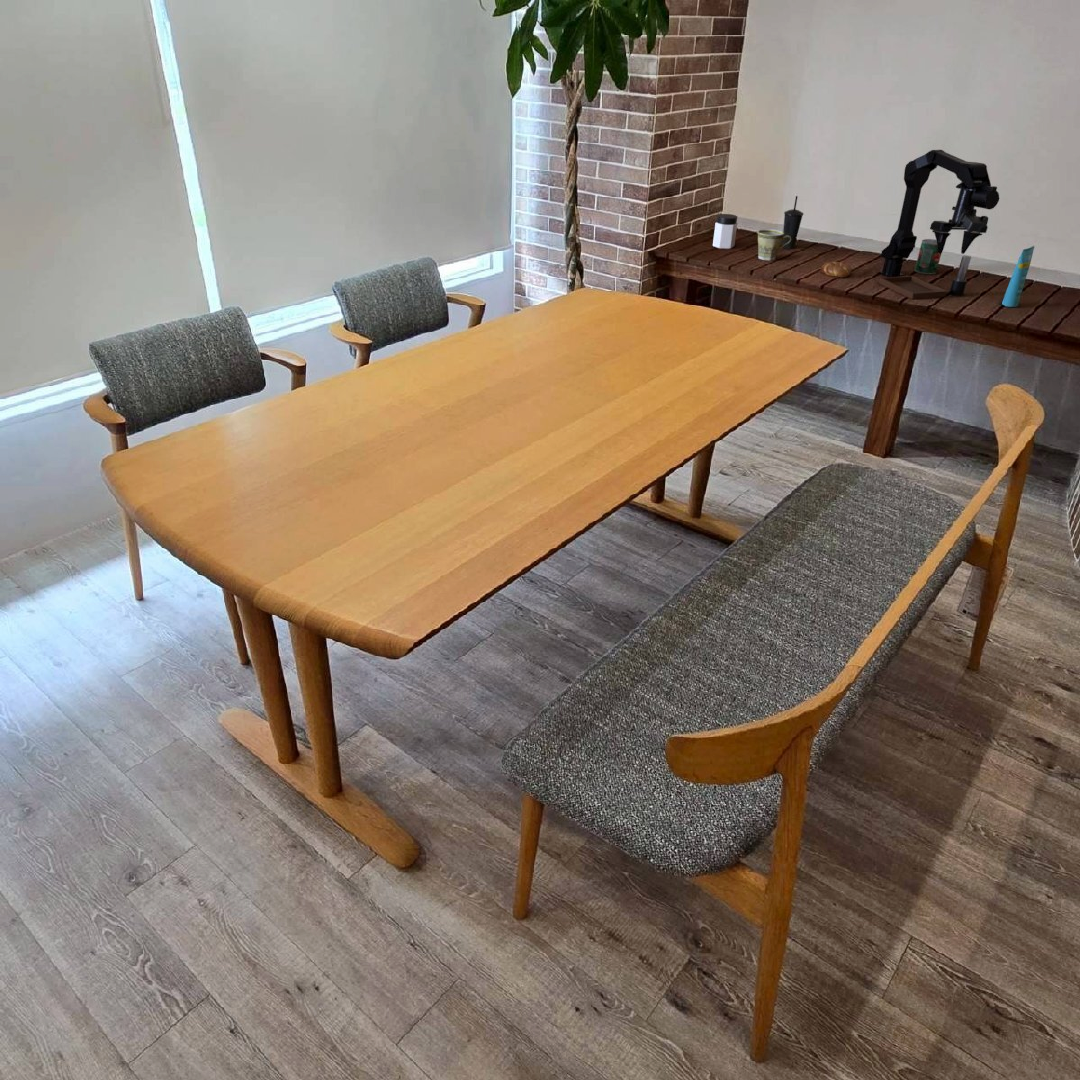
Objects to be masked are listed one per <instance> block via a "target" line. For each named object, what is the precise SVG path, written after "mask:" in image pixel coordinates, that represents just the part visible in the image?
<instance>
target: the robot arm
mask: <svg viewBox="0 0 1080 1080" xmlns="http://www.w3.org/2000/svg"><path fill="white" fill-rule="evenodd" d="M938 167H940V168H943V169H944V170H946V171H949V172H951V173H953V174H954V175H955V176H956V178H957V179H958V181H960V183H958V184H957V185H955V188H956V189H960V190H959V193H958V196H957V200H956V204H955V206H952V208H951V210H952V211H953V214H952V218H951V219H948V221H945V220H933V221H932V222H931V224H930V227H929V230H931V231H932V233H933V234H934V237H935V240H937V246H938V252H939V253H940V254H941V255H942V254H943V251H944V249H945V245H946V242H947V239H948V237H950V236H951V234H952V233H950V232H951V231H957V230H958V231H963V235H962V242H961V248H960V250H961V251H960V253H961V254H962V255H964V254H965V253H966V252H967V251H968V249H969V247H970V246H971V244H972V243H973V241H974V240H975V239H976V238H978V237H981V236H983V234H987V231H988V223H989V217H988V216H987V215H981V216H977V209H976V208H978V209H979V208H980V209H983V210H984V209H985V210H993V209H995V208H996V207H997V205H998V203H999V202H1000V193H999V192H998V191H997V190H998V186H995V185H994V186H993V185H992V184H991V179H990V176H989V173H988V166H987V165H986V163H983V162H977V161H966V160H964V159H962V158H959V157H957V156H955V155H953V154H950V153H948V152H946V151H945V150H943V149H931V150H929V151H928V152H926V153H925V154H923V155H921V156H918V157H916V158H915V159H913V160H910V161H909V162H907V163H906V165H905V167H904V171H903V173H904V174H903V181H904V184H905V187H906V188H905V193H904V198H903V201H902V208H901V211H900V216H899V222H898V225H897V229H896V231H895V232H894V233H893V235H892V236H891V238H890V240H889V244H888V245H887V246H886V247H885V248H883V249H882V250H881V252H880V253H881V256H880V257H881V258H882V259H884V262H883V266H882V270H878V273H879V274H881V275H883V276H884V277H899V276H904V274H903V273H901V272H902V267H903V263H904V259H908V258H909V257H910V255H911V253H913V251H914V249H915V248H916V242H917V240H918V236H917V235H914V232H913V231H914V230H913V228H914V224H915V219H916V216H917V215H916V214H917V210H918V205H919V201H920V196H921V192H922V188H923V187H924V185H925V184H926V183H927V181H928V180H929V178H930V174H931V172H932V171H934V170H935V169H937V168H938Z"/></svg>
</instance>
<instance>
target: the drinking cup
mask: <svg viewBox="0 0 1080 1080" xmlns="http://www.w3.org/2000/svg"><path fill="white" fill-rule="evenodd" d="M798 197H799V196H798V195H796V196H795V200H794V205H793V208H792V209H788V210H785V211H784V212H783V214H784V218H783V229H782V230H783V231H782V232H783V233H784V235H783V236H786V235H789V236H790V237H791V241H790V238H789V237H786V238H784V239H783V240H782V242H781V247H782V246H783V245H784V244H786V243H787V242H789V241H790V242H789V243H788V244H786V245H784V246H783V247H782V248H783V249H787V250H792V249H794V248H795V245H796V241H797V238H798V234H799V231H800V226H801V223H802V219H803V216H804V214H805V213H804V212H802V211H800V210H799V209H797V203H798Z"/></svg>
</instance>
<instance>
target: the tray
mask: <svg viewBox="0 0 1080 1080" xmlns="http://www.w3.org/2000/svg"><path fill="white" fill-rule="evenodd" d="M878 284H879V285H880V286H884V287H886V288H888V289H890V290H891V291H893V292H896V293H898V294H900V295H902V296H904V297H906V298H908V299H910V300H921V299H922V300H923V299H933V298H934V299H935V298H945V297H946V295H947V293H948V291H947V290H946V289H943V288H941V287H938V286H937V285H934V284H932V283H930V282H928V281H925V280H923V279H921V278H918V277H916V276H914V275H903V276H895V277H887V276H884V277H879V280H878Z"/></svg>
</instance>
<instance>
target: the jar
mask: <svg viewBox="0 0 1080 1080" xmlns="http://www.w3.org/2000/svg"><path fill="white" fill-rule="evenodd" d="M737 229H738V216H737V215H736V214H730V213H720V214H717V215H716V222H715V224H714V232H713V239H712V246H713V247H715V248H717V249H725V250H729V249H732V248H734V247H735V244H736V237H737V231H738V230H737Z"/></svg>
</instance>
